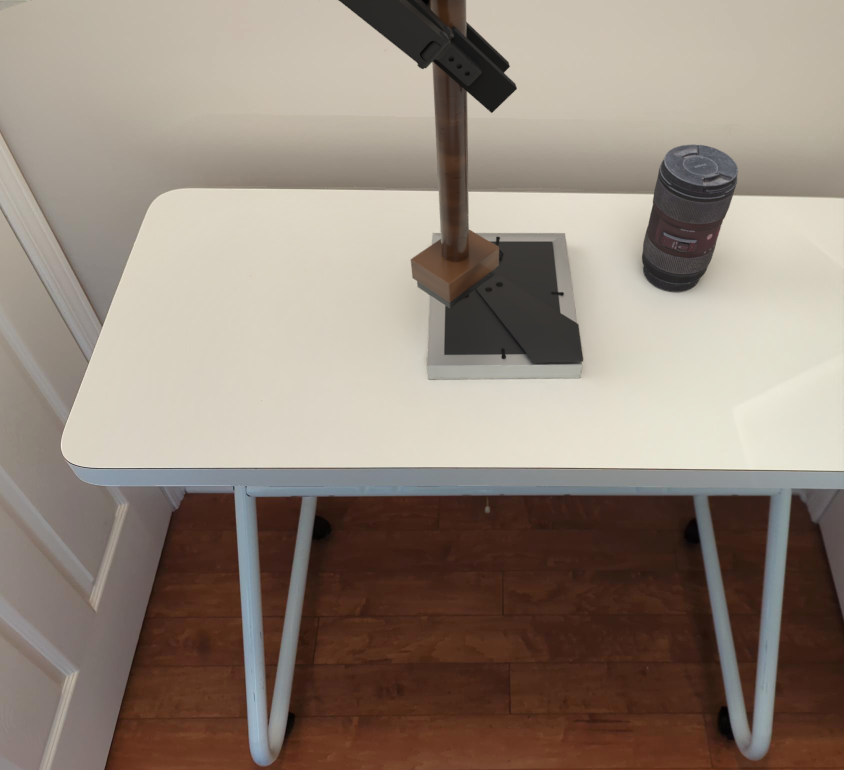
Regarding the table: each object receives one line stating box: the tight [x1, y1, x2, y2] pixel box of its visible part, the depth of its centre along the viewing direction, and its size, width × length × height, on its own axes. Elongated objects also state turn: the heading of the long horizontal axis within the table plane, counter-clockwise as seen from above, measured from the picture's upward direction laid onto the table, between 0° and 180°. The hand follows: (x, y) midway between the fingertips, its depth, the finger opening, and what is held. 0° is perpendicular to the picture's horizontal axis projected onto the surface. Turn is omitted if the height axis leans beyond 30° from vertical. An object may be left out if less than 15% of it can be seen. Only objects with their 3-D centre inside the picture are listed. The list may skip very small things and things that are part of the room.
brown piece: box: [410, 0, 499, 308], centre depth 58 cm, size 7×5×40 cm
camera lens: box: [641, 144, 739, 293], centre depth 83 cm, size 8×8×15 cm
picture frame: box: [426, 232, 584, 380], centre depth 83 cm, size 16×3×21 cm
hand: (499, 86), depth 59 cm, fingers closed on brown piece, 3 cm apart
